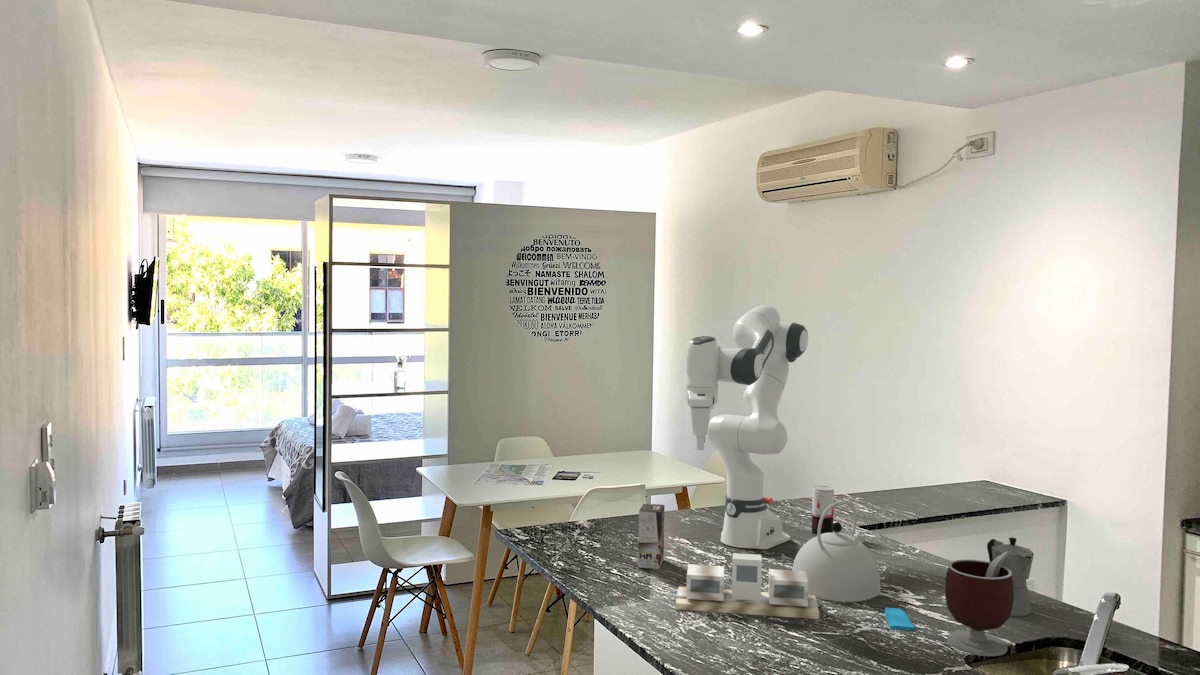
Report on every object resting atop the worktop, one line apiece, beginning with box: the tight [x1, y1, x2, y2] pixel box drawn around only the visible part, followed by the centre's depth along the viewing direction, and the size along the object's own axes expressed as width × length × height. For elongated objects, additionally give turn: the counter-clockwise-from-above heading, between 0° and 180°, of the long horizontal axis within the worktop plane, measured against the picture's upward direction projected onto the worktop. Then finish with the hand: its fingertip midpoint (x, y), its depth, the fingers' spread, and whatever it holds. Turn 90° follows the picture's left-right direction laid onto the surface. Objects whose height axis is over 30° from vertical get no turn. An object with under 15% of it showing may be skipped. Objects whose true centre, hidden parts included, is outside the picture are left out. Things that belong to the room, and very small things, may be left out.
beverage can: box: [811, 485, 835, 537], centre depth 275 cm, size 6×7×15 cm
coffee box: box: [637, 503, 665, 570], centre depth 244 cm, size 9×6×16 cm
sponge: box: [883, 606, 916, 631], centre depth 205 cm, size 2×12×6 cm
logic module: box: [731, 552, 763, 601], centre depth 213 cm, size 5×7×10 cm, turn 81°
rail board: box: [674, 563, 820, 620], centre depth 213 cm, size 34×12×8 cm, turn 81°
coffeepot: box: [986, 537, 1035, 618], centre depth 213 cm, size 15×9×18 cm, turn 13°
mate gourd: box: [944, 551, 1014, 657], centre depth 191 cm, size 16×14×20 cm
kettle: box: [792, 500, 881, 603], centre depth 228 cm, size 25×23×22 cm
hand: (701, 446), depth 237 cm, fingers open, 8 cm apart
